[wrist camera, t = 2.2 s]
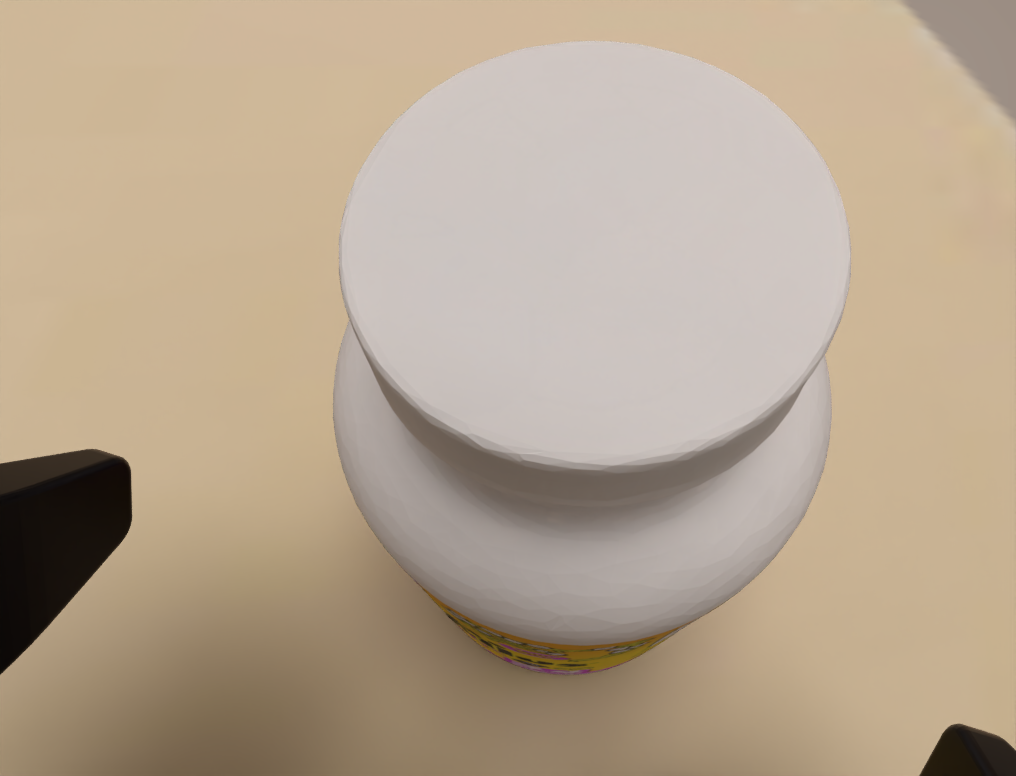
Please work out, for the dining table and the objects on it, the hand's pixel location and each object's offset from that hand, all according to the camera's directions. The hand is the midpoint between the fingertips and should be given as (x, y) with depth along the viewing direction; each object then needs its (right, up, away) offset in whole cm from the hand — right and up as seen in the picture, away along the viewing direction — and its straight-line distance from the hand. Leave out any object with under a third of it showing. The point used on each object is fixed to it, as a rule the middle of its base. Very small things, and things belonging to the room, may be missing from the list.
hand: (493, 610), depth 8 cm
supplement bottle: (+2, -1, +11) cm, 11 cm away
